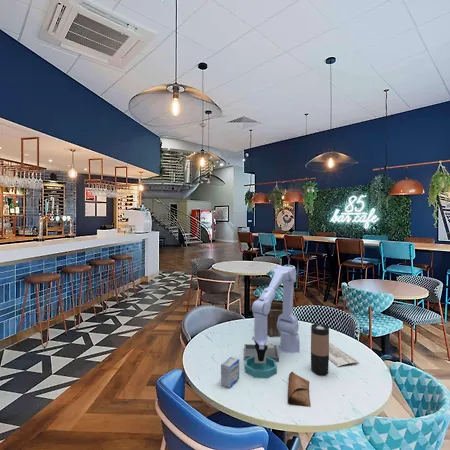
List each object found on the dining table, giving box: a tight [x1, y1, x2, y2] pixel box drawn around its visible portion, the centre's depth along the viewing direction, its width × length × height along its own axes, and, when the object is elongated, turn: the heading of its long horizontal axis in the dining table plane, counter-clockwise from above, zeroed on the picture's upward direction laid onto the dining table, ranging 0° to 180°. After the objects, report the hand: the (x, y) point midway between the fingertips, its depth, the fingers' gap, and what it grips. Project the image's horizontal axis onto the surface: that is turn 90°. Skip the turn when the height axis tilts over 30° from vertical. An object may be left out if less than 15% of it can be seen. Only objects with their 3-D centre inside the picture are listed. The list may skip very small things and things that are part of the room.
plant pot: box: [267, 301, 283, 338], centre depth 169 cm, size 16×16×16 cm
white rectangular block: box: [255, 349, 266, 364], centre depth 126 cm, size 5×4×5 cm
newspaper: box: [329, 342, 360, 368], centre depth 142 cm, size 23×12×2 cm, turn 13°
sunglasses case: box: [287, 371, 312, 408], centre depth 111 cm, size 18×7×7 cm, turn 167°
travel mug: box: [310, 323, 330, 377], centre depth 126 cm, size 8×8×20 cm
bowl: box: [244, 356, 278, 379], centre depth 126 cm, size 14×14×3 cm
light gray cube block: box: [265, 343, 275, 357], centre depth 140 cm, size 4×4×4 cm
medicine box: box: [220, 356, 240, 389], centre depth 117 cm, size 8×4×9 cm, turn 148°
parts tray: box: [244, 343, 280, 363], centre depth 140 cm, size 16×13×2 cm
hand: (260, 358), depth 126 cm, fingers closed on white rectangular block, 4 cm apart
